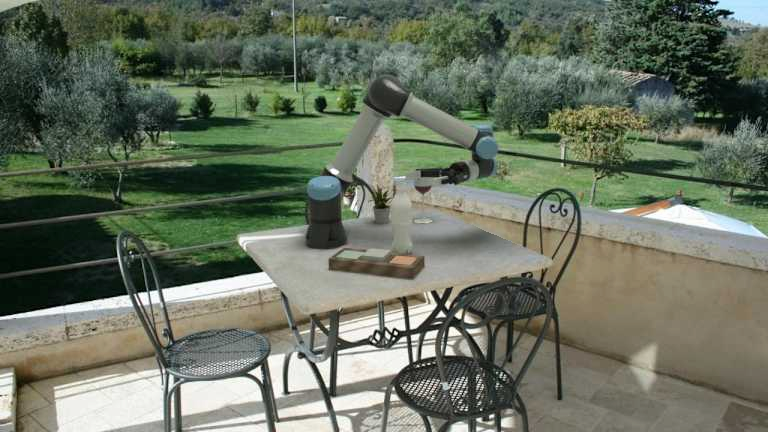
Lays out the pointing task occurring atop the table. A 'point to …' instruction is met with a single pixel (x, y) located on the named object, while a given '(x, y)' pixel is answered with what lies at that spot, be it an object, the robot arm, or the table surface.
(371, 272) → the keypad
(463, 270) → the table surface
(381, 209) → the house plant
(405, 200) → the water bottle
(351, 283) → the table surface
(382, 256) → the key middle
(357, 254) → the key sage
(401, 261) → the orange square block
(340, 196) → the robot arm
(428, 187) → the wineglass
